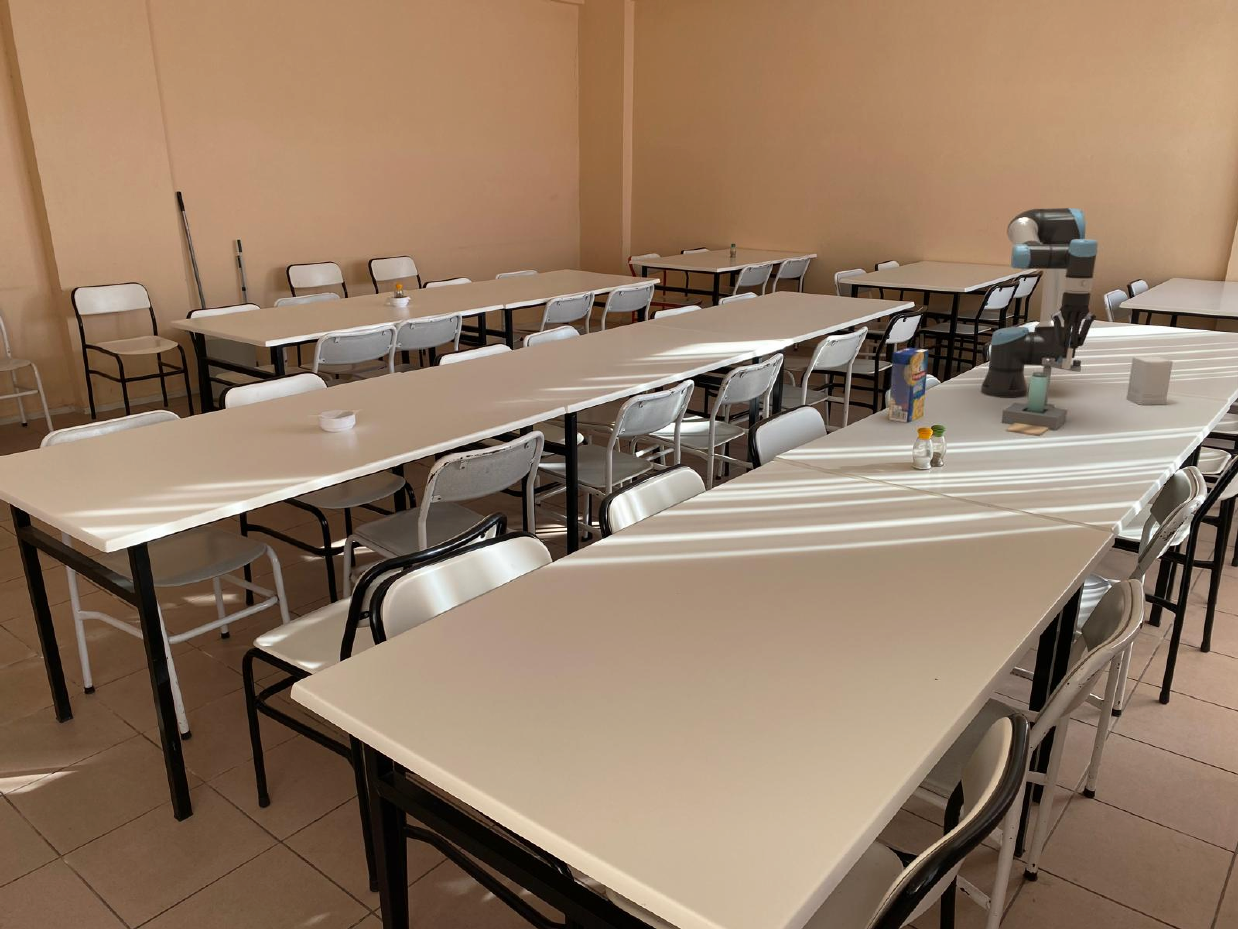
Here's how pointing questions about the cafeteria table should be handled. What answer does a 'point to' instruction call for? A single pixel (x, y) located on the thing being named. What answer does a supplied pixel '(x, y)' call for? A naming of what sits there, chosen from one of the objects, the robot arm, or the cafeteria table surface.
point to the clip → (1051, 363)
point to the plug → (1037, 392)
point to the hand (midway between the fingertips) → (1065, 368)
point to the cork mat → (1027, 429)
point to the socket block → (1047, 419)
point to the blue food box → (908, 384)
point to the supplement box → (1149, 380)
